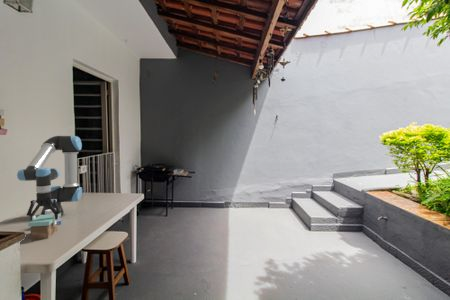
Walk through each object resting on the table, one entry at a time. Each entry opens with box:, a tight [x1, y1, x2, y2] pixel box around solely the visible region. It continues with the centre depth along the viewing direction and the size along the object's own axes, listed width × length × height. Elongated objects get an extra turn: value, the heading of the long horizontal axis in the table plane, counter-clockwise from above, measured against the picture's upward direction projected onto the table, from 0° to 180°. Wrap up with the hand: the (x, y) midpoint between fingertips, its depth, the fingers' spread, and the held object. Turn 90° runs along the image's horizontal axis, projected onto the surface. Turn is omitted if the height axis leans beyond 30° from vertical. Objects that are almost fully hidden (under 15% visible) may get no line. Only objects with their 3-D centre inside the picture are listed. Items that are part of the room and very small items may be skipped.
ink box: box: [45, 208, 62, 226], centre depth 171 cm, size 9×5×12 cm, turn 141°
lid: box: [27, 214, 59, 228], centre depth 154 cm, size 15×11×4 cm
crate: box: [30, 220, 58, 241], centre depth 154 cm, size 14×9×8 cm, turn 15°
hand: (44, 225), depth 154 cm, fingers closed on lid, 11 cm apart
